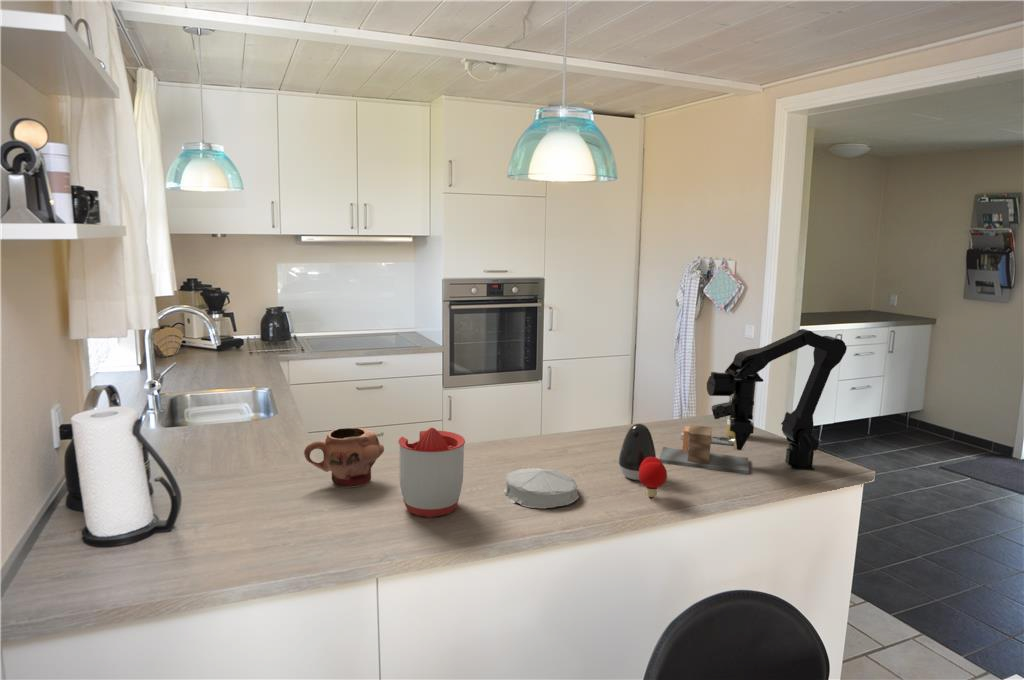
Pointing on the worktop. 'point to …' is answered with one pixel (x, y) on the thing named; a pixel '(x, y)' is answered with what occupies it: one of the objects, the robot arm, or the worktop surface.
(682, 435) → the shaft
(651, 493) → the light bulb
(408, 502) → the citrus juicer
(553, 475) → the food container
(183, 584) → the worktop surface
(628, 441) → the black rounded cone
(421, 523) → the worktop surface
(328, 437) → the brown sculpted mug
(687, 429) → the spacer collar
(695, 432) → the bearing block
